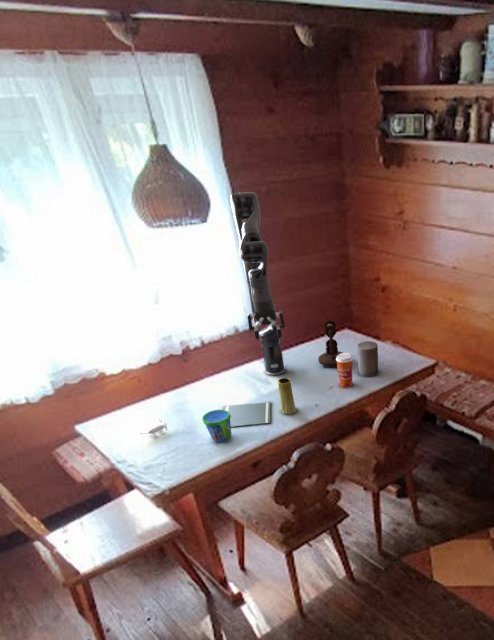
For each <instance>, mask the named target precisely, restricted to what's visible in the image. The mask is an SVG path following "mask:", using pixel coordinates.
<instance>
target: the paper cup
mask: <svg viewBox="0 0 494 640" xmlns="http://www.w3.org/2000/svg"><path fill="white" fill-rule="evenodd" d="M353 360H354V358H353V356H352V354H350V353H349V352H343V353H341V354H339V355H338V356H337V357H336V361H337V366H336V367H337V373H338V380H339V385H340V387H341V388H344V389H345V388H347V389H348V388H351V387H352V386H353Z"/></svg>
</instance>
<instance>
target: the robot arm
mask: <svg viewBox="0 0 494 640" xmlns="http://www.w3.org/2000/svg"><path fill="white" fill-rule="evenodd" d="M260 203H261V202H260V199H259V196H258V194H257V193H256V192H253V191H246V192H245V191H244V192H233V193H231V195H230V205H231V210H232V215H233V220H234V223H235V227H236V232H237V235H238V241H239V249H238V250H239V251H238V252H239V253H238V254H239V257H240V259H241V261H242V265H243V270H244V274H245V279H246V285H247V289H248V296H249V303H250V311H251V313H250V312H249V313H247V323H248V330H249V331H252V332H253V333H254V336H255V339H256V340H257V341H259V342H260V347H261V352H262V357H263V364H264V368H265V373H266V375H268V376H280V375H282V374H284V373H285V372H286V368H285V363H284V357H283V356H284V355H283V350H282V343H281V338H282V336H283V334H282V333H283V332H282V329H284V328H285V326H286V324H285V323H286V322H285V319H284V313H283V311H282V310H279V311H277V308H276V305H275V303H274V301H273V297H272V290H271V288H270V280H269V275H268V274H269V273H268V263H269V256H270V255H269V254H270V251H269V246H268V244H267V243H266V242H265V241H264V240H263V238H262V231H261V223H262V211H261V204H260ZM243 220H244V221H243ZM278 319H279V321H280V323H279V322H278ZM253 322H254V323H255V325H253ZM261 325H262V326H265V325H267V326H266V327H263V328H262V329H260V330H259V328H260V326H261Z"/></svg>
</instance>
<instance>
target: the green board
mask: <svg viewBox="0 0 494 640" xmlns="http://www.w3.org/2000/svg"><path fill="white" fill-rule="evenodd" d="M271 404H272V403H271V401H270V402H268V401H267V402H259V403H249V404H236V405H226V406H224V409H223V410H226V411H228V412H229V413H230V415H231V418H230V424H231V428H238V427H248V426H259V425H270V424H271Z"/></svg>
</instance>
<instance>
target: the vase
mask: <svg viewBox="0 0 494 640" xmlns="http://www.w3.org/2000/svg"><path fill="white" fill-rule="evenodd" d="M277 385H278V391H279V397H280V398H279V399H280V404H281V412H282V414H283V415H292V414H295V413H296V412H297V409H296V405H295V399H294V393H293V388H292V387H293V386H292V381H291V379H290V378H289V377H282V378H279V379H278V380H277Z"/></svg>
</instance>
